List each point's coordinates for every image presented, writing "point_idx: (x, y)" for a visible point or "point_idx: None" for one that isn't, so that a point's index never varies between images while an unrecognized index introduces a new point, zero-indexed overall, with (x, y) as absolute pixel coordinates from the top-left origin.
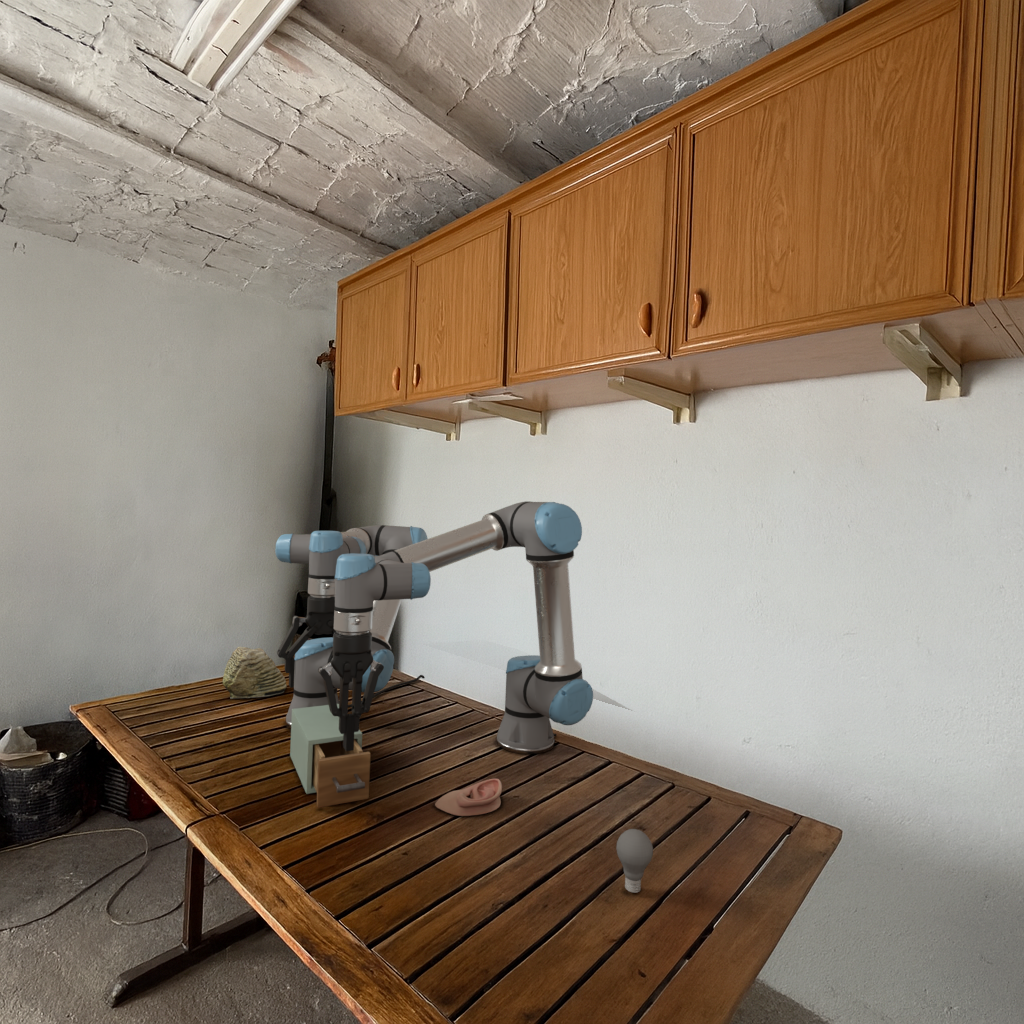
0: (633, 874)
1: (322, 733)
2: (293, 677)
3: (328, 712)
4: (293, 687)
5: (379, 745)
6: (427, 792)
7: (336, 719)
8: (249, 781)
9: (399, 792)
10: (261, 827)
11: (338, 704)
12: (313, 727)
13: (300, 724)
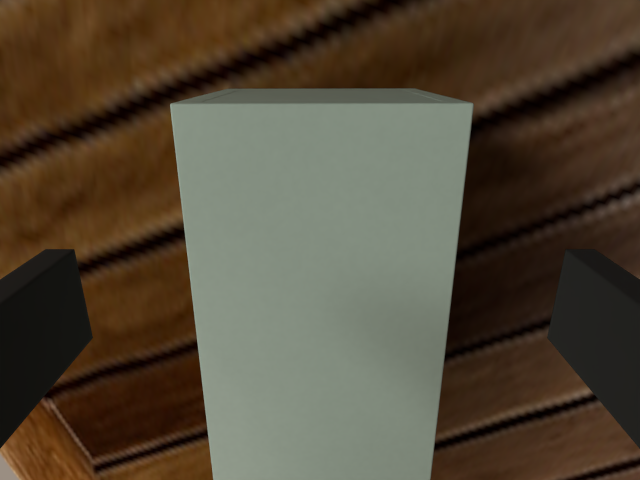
0: None
1: (279, 469)
2: (38, 395)
3: (363, 240)
4: (89, 338)
5: (574, 112)
6: (533, 463)
7: (375, 347)
8: (93, 249)
9: (471, 442)
10: (138, 476)
11: (459, 117)
12: (253, 403)
13: (200, 355)
